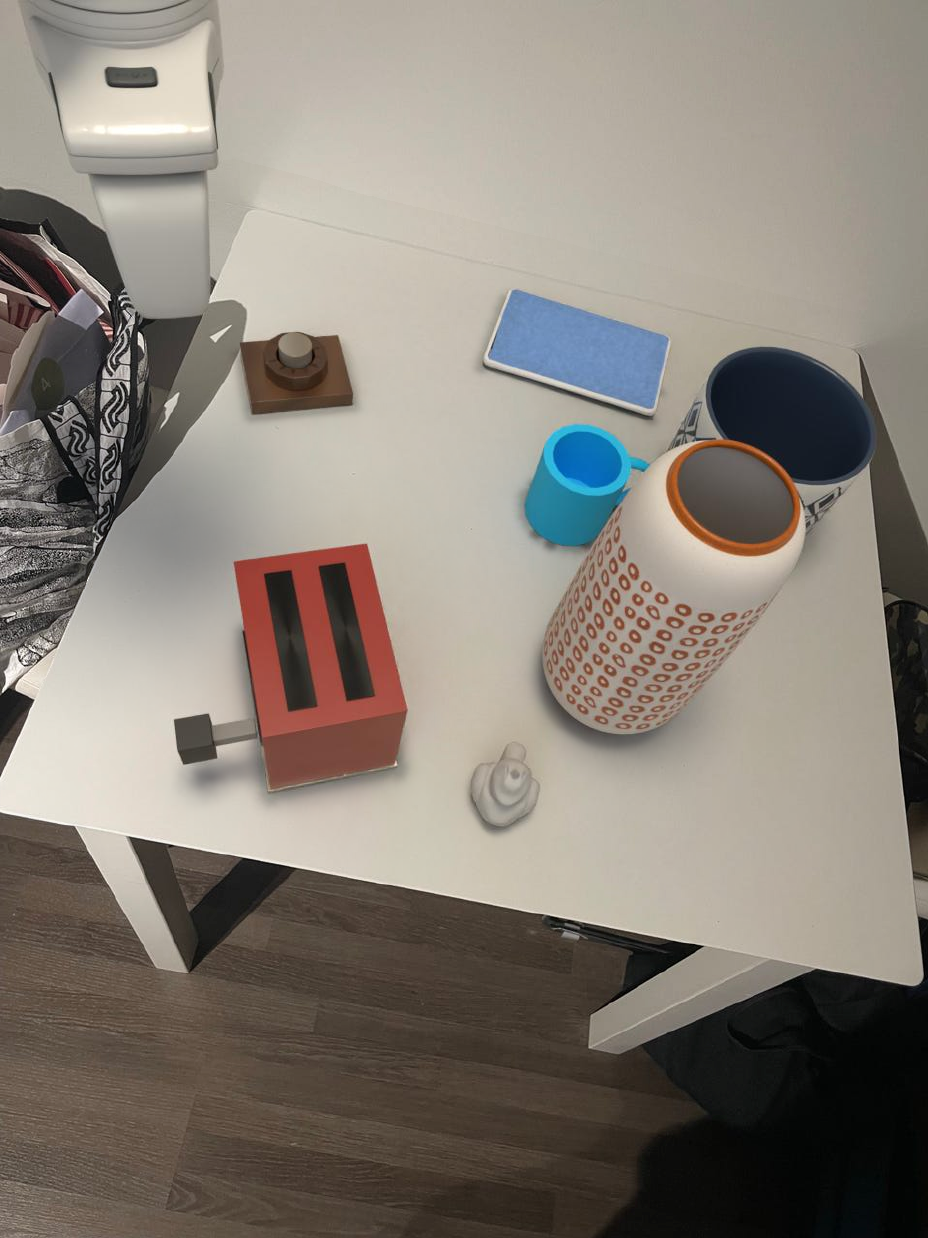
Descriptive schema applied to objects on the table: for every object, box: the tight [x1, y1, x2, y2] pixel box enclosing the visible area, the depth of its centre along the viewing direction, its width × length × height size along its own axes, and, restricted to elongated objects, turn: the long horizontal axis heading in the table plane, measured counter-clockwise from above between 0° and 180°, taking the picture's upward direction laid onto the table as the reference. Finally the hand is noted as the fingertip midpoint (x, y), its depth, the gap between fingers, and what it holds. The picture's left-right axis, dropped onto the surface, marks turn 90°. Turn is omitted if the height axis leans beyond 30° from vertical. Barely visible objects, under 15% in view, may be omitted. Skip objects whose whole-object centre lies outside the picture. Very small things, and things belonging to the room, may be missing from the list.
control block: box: [239, 331, 354, 415], centre depth 87 cm, size 10×8×4 cm
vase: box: [541, 440, 806, 735], centre depth 65 cm, size 13×13×28 cm
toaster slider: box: [173, 713, 258, 766], centre depth 62 cm, size 5×2×3 cm, turn 105°
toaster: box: [233, 543, 408, 794], centre depth 67 cm, size 10×14×12 cm
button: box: [278, 333, 312, 369], centre depth 85 cm, size 3×3×2 cm
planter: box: [665, 346, 877, 537], centre depth 82 cm, size 16×16×14 cm
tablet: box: [482, 288, 672, 417], centre depth 95 cm, size 19×13×1 cm, turn 74°
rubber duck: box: [470, 741, 541, 827], centre depth 67 cm, size 5×7×8 cm
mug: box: [524, 423, 651, 547], centre depth 82 cm, size 12×8×8 cm
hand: (169, 266), depth 53 cm, fingers closed
